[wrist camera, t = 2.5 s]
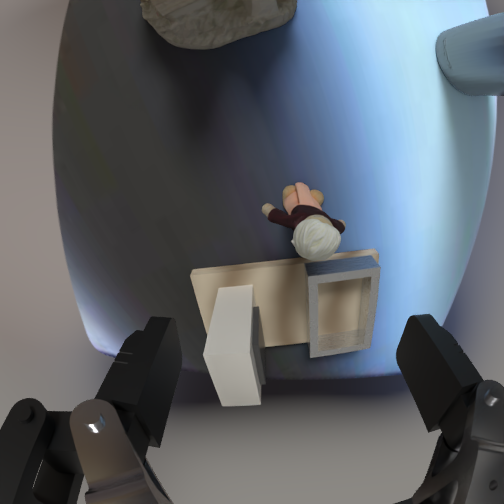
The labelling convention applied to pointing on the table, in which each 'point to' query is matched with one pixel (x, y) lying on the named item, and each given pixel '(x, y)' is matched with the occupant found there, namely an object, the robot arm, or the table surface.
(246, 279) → the cream base plate
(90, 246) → the table surface
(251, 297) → the white box with panel
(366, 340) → the slot walls
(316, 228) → the grandmother figurine
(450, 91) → the table surface
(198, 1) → the beige jagged towered block
